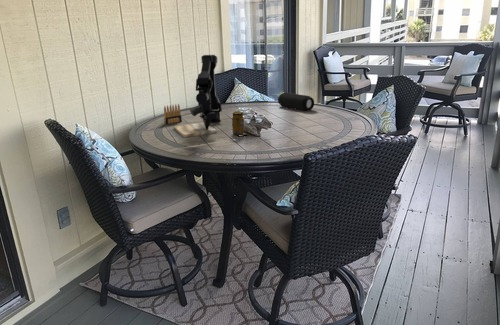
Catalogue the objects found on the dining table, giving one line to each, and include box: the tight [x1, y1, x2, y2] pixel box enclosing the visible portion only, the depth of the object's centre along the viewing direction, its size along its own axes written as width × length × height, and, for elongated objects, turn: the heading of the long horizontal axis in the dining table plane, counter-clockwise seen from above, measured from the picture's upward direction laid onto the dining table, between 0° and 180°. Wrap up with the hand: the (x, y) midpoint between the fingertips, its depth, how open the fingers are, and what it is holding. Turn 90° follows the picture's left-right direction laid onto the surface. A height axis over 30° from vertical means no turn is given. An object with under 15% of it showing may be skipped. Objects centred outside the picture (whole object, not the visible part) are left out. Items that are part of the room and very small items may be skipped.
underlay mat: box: [167, 128, 221, 140], centre depth 223 cm, size 23×22×1 cm
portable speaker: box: [277, 92, 315, 112], centre depth 274 cm, size 26×10×10 cm, turn 42°
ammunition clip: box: [163, 103, 183, 125], centre depth 241 cm, size 11×2×12 cm, turn 125°
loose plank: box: [188, 121, 218, 136], centre depth 225 cm, size 9×20×2 cm, turn 26°
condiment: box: [231, 111, 245, 137], centre depth 215 cm, size 7×8×12 cm
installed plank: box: [173, 124, 201, 139], centre depth 221 cm, size 9×20×2 cm, turn 26°
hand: (206, 128), depth 221 cm, fingers closed, pressing on loose plank
